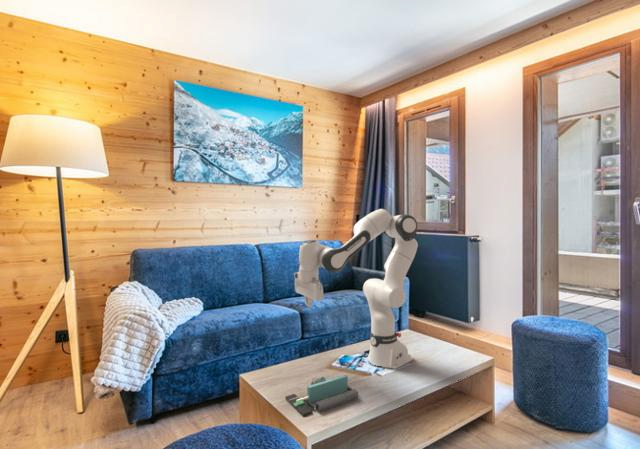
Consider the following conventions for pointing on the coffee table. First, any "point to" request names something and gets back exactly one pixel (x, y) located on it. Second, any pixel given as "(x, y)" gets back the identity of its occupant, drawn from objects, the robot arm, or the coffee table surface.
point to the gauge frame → (322, 402)
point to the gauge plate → (326, 389)
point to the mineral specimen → (317, 379)
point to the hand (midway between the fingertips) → (308, 306)
